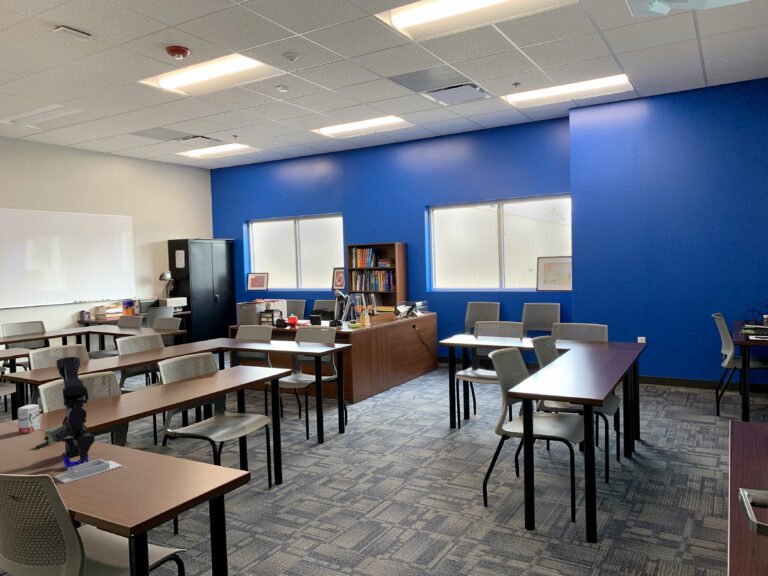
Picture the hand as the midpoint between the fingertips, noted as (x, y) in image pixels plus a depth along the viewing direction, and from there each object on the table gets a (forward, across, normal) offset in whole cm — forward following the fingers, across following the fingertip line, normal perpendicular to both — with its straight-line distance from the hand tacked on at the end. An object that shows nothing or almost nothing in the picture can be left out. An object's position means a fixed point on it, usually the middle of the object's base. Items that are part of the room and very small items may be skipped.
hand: (77, 458), depth 214 cm
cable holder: (+4, -1, 0) cm, 4 cm away
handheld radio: (+4, -42, +9) cm, 43 cm away
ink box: (+3, -70, +6) cm, 70 cm away
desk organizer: (+3, +10, 0) cm, 11 cm away
